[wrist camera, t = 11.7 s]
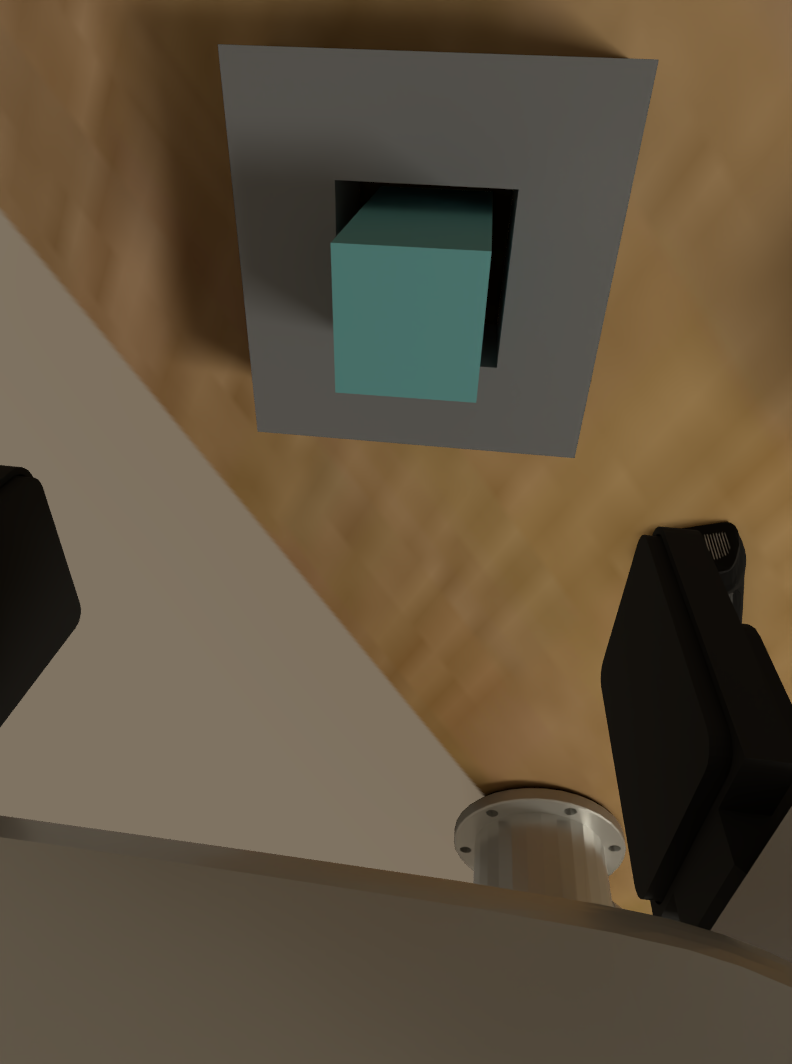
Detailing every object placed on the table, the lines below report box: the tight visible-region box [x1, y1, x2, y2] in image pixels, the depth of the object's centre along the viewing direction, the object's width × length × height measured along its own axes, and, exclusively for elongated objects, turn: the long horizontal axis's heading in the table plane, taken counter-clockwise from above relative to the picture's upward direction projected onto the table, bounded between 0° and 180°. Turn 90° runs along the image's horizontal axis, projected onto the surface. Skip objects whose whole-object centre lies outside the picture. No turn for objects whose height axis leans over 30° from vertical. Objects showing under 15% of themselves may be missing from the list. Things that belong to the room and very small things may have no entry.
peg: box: [331, 186, 493, 403], centre depth 23 cm, size 4×4×10 cm
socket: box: [218, 44, 658, 458], centre depth 25 cm, size 13×13×5 cm
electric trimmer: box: [682, 522, 746, 624], centre depth 37 cm, size 4×16×3 cm, turn 16°
